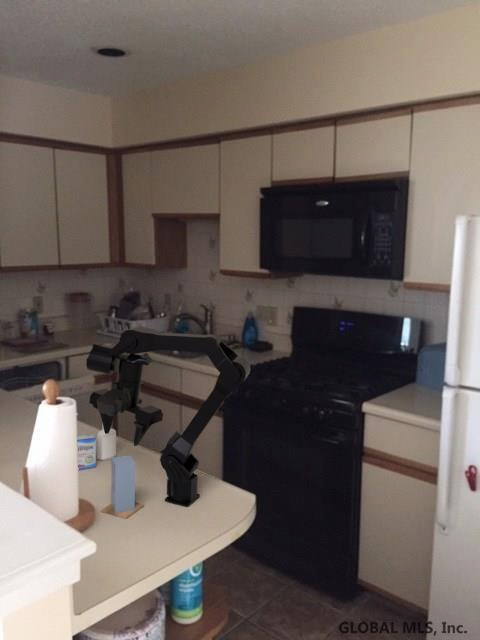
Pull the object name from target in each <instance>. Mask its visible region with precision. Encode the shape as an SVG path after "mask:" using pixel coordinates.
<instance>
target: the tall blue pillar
mask: <svg viewBox="0 0 480 640" xmlns="http://www.w3.org/2000/svg"><path fill="white" fill-rule="evenodd" d="M110 481H111V484H110V485H111V491H110V492H111V502H110V504H111V505H112V507H113V509H114V511H115V513H119V512H125V511H131V510H135V502H136V501H135V500H136V499H135V497H136V494H135V493H136V492H135V491H136V486H135V485H136V462H135V460H134V459H133V457H132V455H130V454H128V455H123V456H114V457H113V458H111V479H110Z"/></svg>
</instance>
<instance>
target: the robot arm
mask: <svg viewBox="0 0 480 640" xmlns="http://www.w3.org/2000/svg"><path fill="white" fill-rule="evenodd" d="M153 351H168V352H169V351H170V352H171V351H172V352H173V351H174V352H187V353H189V352H191V353H204V354H206V356H207V357H208V358H209V360H210V361H211V363H212V365H213V367H214V368H215V369H216V370H217V371H218V372H219V374H218V376H217V378H216V381H215V384H214V387H213V389H212V391H211V392H210V393H209V395H208V396H207V397H206V400H204V402H203V404H202V405H201V406H200V408H199V409H198V411H197V412H196V414H195V415H194V416H193V418H192V420H191V421H190V422H189V423H188V425H187V426H186V428H185V429H184V431H183V432H181V434H180V432H178V431H177V430H176V431H175V432H174V433H173V434H172V435H171V437H170V438H169V439H168V441H167V443H166V445H165V446H164V447H163V448H162V449H161V451H160V452H159V453H161V455H160V457H159V462H160V465H161V468H162V469H163V470H164V471H165V473H166V476H167V478H166V479H167V480H166V495H167V497H165V498H164V502H168V503H170V504H175V505H179V506H183V507H189V506H190V505H192V504H193V503H195V501H197V500H198V499H199V498H200V497H201V494H200V493H198V474H196V473H195V471H196V470H197V468H198V466H199V464H200V461H199V460H198V458H197V457H196V456H195V455H194V454H193V451H194V448H195V445H196V443H197V441H198V439H199V437H200V435H201V434H202V433H203V432H204V430H205V429H206V427H207V426H208V424H209V423H210V422H211V420H212V419H213V418H214V416H215V415H216V413H217V412H218V410H219V409H220V407H222V405H223V403H224V402H225V400H226V399H228V397H230V395H231V394H233V393H234V392H235V391H236V390H237V389H238V388H239V387H240V386H241V385H242V384H243V383H244V382H245V380H246V379H247V377H248V376H249V375H250V372H251V365H250V363H249V361H248V360H247V359H246V358H245V357H243V356H239V354H237V352H236V351H235V350H234V349H233V348H231V347H230V346H228V345H227V344H226V343H225V342H224V341H223V340H222V339H221V338H220V337H219V336H218V335H217V334H197V333H195V334H191V333H177V332H176V333H173V332H161V331H159V330H156V329H154V328H149V327H145V326H141V325H137V326H134V327H131V328H128V329H126V330H124V331H122V333H121V335H120V337H119V341H118V342H117V343H116V344H114V346H109V345H105V344H103V343H100V342H95V343H93V344H92V348H91V350H90V352H89V353H88V355H87V356H88V357H87V358H86V365H85V366H86V369H87V370H88V371H91V372H96V373H100V374H104V375H109V376H110V375H111V376H112V375H113V374H114V373H115V372H117V378H116V381H113V383H112V384H111V389H107V388H102V389H98V390H95V391H92V392H91V394H90V395H89V399H88V403H89V404H91V405H92V408H94V409H95V410H97V412H98V413H99V415H100V418H101V422H102V423H103V427H104V432H105V434H108V433H109V431H110V429H111V428H112V424H113V422H114V421H113V420H114V416H116V415H117V414H118V413H120V414H122V413H124V412H125V411H126V412H129V413H132V414H134V415H135V416H134V419H135V421H133V424H134V426H135V430H134V438H133V446H134V447H137V446H138V445H140V442H141V441H142V439H143V438H144V436H145V435H146V433H147V431H148V430H149V429H150V428H151V426H152V425H154V424H156V423H159V422H162V421H163V417H164V412H163V410H162V409H161V408H158V407H155V406H153V405H146V406H144V407H141V406H139V405H140V404H142V402H143V399H141V398H140V393H141V389H143V388H145V383H144V382H142V378H143V372H144V366H149V365H150V364H152V363H153V362H154V359H153V358H152V357H151V356H150V355H149V353H148V352H153ZM143 353H144V354H143ZM128 354H129V355H128ZM102 423H101V424H102Z"/></svg>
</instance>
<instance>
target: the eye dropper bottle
mask: <svg viewBox="0 0 480 640" xmlns="http://www.w3.org/2000/svg"><path fill="white" fill-rule="evenodd" d="M101 424H102V425H101V429H100V430H99V431H97V434H96V460H99V461H107V460H112V458H113V457H117V431H116V430H115V429H114V428H112V427H111V429H110V431H109V433H108V434H105V432H104V427H103V423H101Z"/></svg>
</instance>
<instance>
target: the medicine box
mask: <svg viewBox="0 0 480 640" xmlns="http://www.w3.org/2000/svg"><path fill="white" fill-rule="evenodd" d="M76 435H77V444H78V468H79V470H78V471H83V470H89V469H95V468H96V467H97V437H96V436H95V434H94V433H93V432H92V433H84V434H76Z"/></svg>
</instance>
